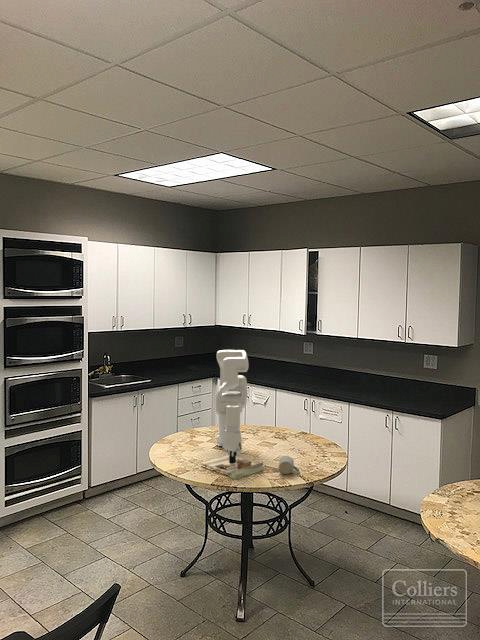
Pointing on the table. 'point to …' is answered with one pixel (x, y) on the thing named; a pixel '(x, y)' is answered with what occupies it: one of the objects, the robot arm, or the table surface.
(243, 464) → the walnut block
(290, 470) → the ceramic mug
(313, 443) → the table surface
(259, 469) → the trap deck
